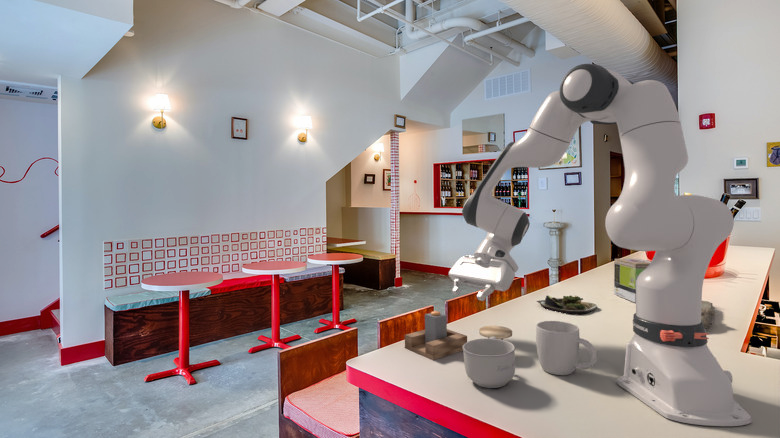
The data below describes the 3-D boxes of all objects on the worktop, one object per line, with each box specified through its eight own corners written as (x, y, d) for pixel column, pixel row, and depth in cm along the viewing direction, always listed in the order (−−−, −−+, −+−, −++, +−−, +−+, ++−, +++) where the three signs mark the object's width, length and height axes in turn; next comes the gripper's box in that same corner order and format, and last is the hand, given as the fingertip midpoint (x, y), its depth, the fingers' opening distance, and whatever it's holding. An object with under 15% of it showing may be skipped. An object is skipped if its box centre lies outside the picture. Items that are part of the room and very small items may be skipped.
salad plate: (562, 299, 162) (562, 287, 162) (608, 308, 148) (608, 295, 147) (531, 307, 151) (531, 294, 151) (577, 317, 136) (577, 304, 136)
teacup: (506, 398, 82) (506, 358, 81) (455, 386, 87) (454, 348, 87) (524, 372, 93) (524, 337, 93) (478, 363, 99) (478, 330, 99)
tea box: (662, 303, 152) (662, 263, 151) (634, 303, 152) (634, 263, 151) (638, 294, 167) (638, 257, 166) (613, 294, 167) (613, 257, 166)
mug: (530, 371, 94) (529, 327, 94) (545, 359, 101) (545, 318, 100) (590, 387, 86) (590, 339, 85) (602, 373, 92) (602, 328, 92)
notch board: (438, 338, 118) (438, 326, 117) (467, 349, 109) (467, 335, 109) (404, 347, 110) (404, 334, 110) (433, 360, 102) (432, 345, 101)
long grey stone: (719, 314, 142) (684, 311, 149) (719, 298, 142) (683, 296, 149) (712, 334, 116) (669, 329, 122) (711, 315, 116) (668, 311, 122)
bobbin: (515, 360, 100) (514, 335, 100) (481, 359, 101) (481, 335, 101) (509, 348, 108) (509, 325, 108) (478, 348, 109) (477, 325, 109)
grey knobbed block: (436, 341, 112) (436, 309, 112) (446, 345, 109) (446, 312, 109) (425, 344, 110) (424, 312, 110) (435, 348, 107) (435, 315, 106)
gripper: (458, 248, 128) (435, 283, 123) (513, 254, 112) (489, 295, 106) (468, 261, 131) (446, 296, 126) (523, 268, 115) (501, 310, 109)
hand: (466, 296), depth 116 cm, fingers open, 8 cm apart
